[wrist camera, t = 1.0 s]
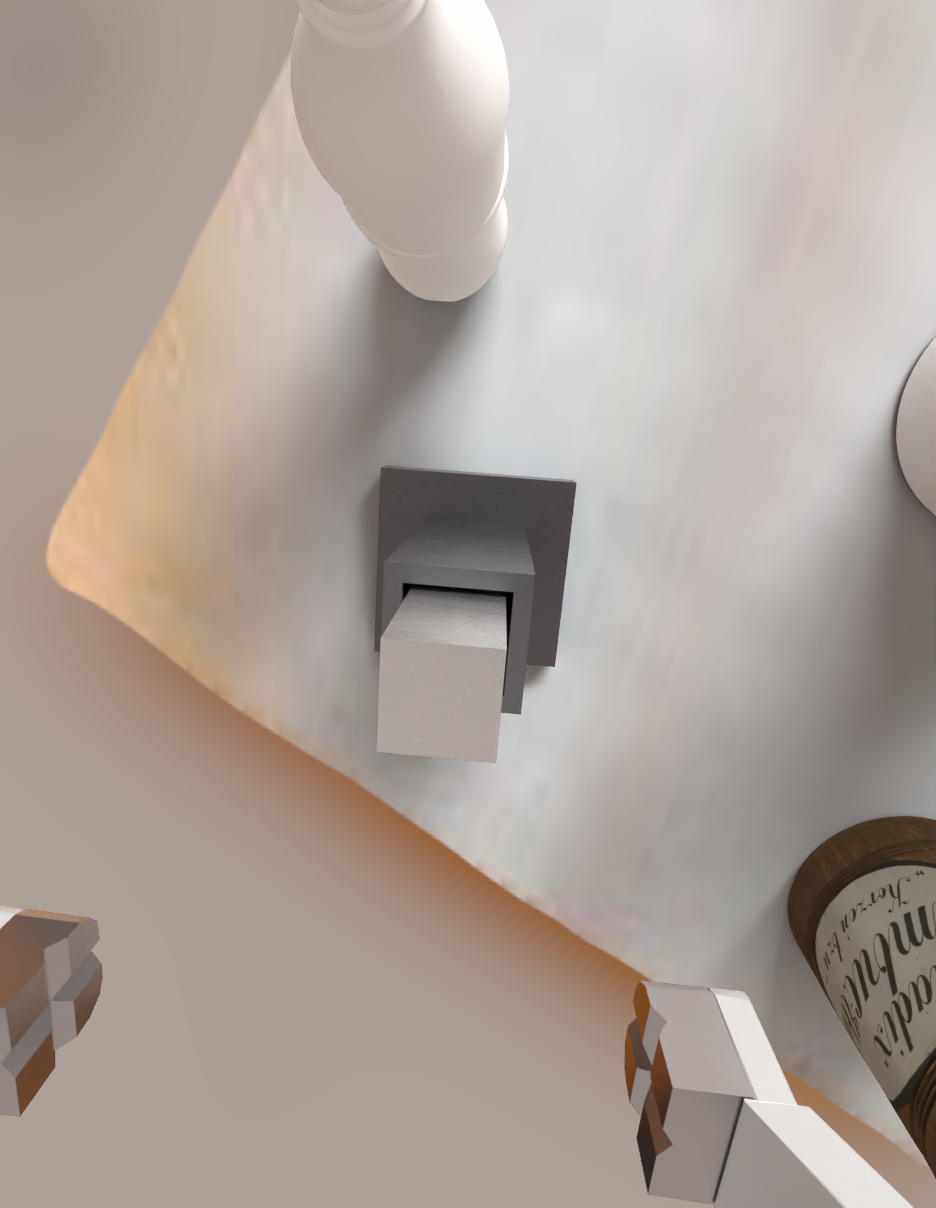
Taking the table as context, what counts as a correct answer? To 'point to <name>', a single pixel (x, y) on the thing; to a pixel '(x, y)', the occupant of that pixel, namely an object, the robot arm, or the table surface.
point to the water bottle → (410, 131)
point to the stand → (479, 552)
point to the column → (443, 674)
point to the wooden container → (879, 954)
